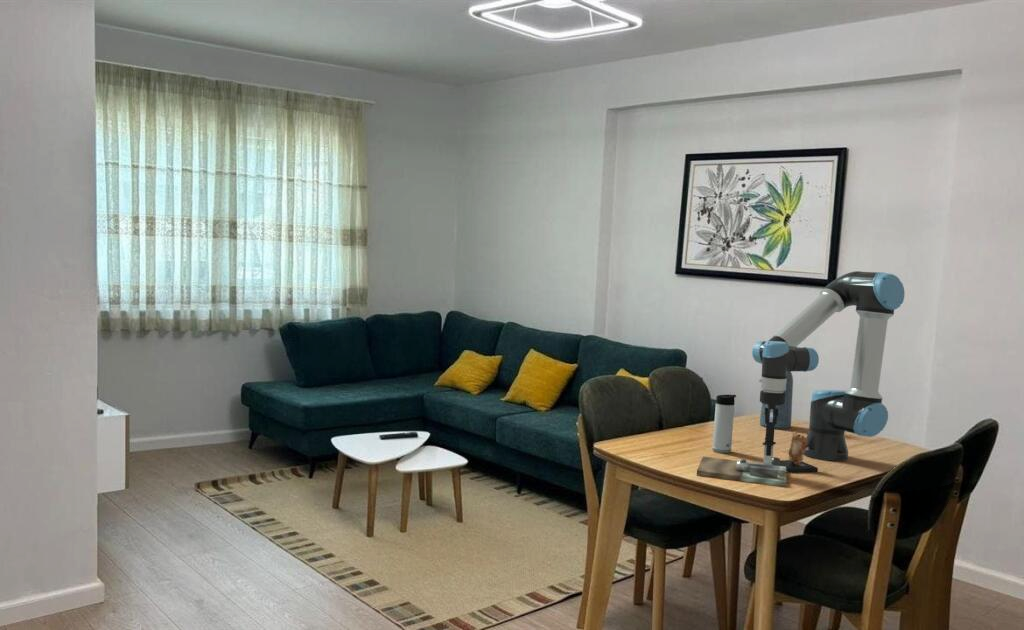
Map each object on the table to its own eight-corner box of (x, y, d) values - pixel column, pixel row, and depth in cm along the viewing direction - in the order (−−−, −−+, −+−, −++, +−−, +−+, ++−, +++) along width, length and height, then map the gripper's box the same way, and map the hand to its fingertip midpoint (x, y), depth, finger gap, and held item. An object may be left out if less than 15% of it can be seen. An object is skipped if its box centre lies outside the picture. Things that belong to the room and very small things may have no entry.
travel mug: (732, 454, 289) (736, 396, 287) (712, 452, 290) (716, 394, 289) (731, 450, 295) (735, 393, 294) (712, 448, 296) (716, 392, 295)
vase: (761, 427, 339) (767, 358, 336) (757, 422, 351) (763, 354, 348) (793, 430, 337) (798, 360, 335) (788, 424, 349) (793, 356, 346)
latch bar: (737, 470, 259) (738, 456, 259) (735, 467, 263) (736, 453, 262) (779, 474, 258) (780, 460, 257) (777, 471, 261) (778, 457, 261)
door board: (785, 471, 269) (786, 458, 269) (785, 486, 250) (786, 473, 250) (702, 460, 277) (703, 448, 277) (696, 475, 258) (697, 462, 258)
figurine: (817, 472, 270) (820, 435, 270) (790, 473, 268) (793, 435, 267) (798, 464, 280) (801, 428, 279) (772, 465, 277) (774, 429, 276)
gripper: (760, 386, 271) (755, 459, 273) (760, 392, 259) (754, 468, 260) (785, 388, 269) (780, 461, 271) (785, 395, 256) (780, 471, 258)
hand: (767, 465), depth 266 cm, fingers closed
